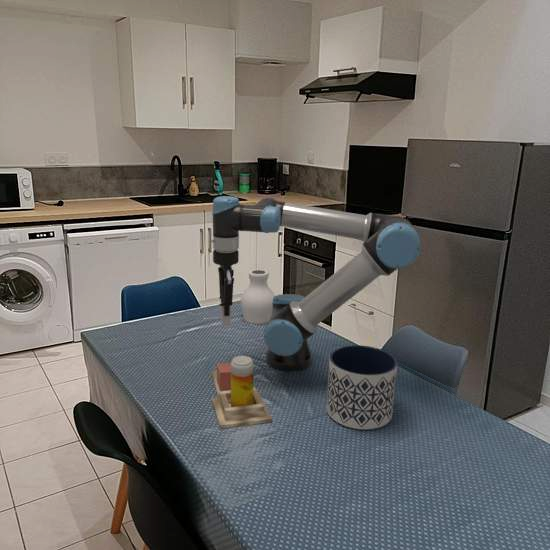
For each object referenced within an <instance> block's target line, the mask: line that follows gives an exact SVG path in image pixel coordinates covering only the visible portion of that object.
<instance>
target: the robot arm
mask: <svg viewBox="0 0 550 550" xmlns="http://www.w3.org/2000/svg"><path fill="white" fill-rule="evenodd" d="M212 202H213V203H212V239H210V242H211V243H212V247H213V251H212V263H214V264H216V265H217V266H218V265H219V267H218V268H217V271H218V272H217V273H218V280H219V281H218V282H219V283H218V284H219V300H220V303H219V306H220V317H221V319H220V324H221V326H231V325H232V321H231V320H232V317H231V316H232V315H231V314H232V309H231V307H232V306H233V296H234V295H233V294H234V283H235V278H234V277H233V276H234V269H233V267H232V266H233V265H236V264H238V263H239V259H240V258H239V256H240V255H239V249H240V248H239V245H240V235H239V234H240V232H251V233H252V232H254V233H265V234H269V233H274V234H275V233H278V232H279V231H280V228H281V227H284V228H290V229H294V230H295V229H296V230H300V231H301V230H303V231H307V232H312V233H313V232H314V233H318V234H319V233H320V234H326V235H331V236H336V237H343V238H349V239H354V240H359V241H362V242H363V243H362V247H361V250H360V252H359V253H358V254H357V255H356V256H354V257H353V258H352V259H351V260H349V261H348V262H347V263H346V264H345V265H343V266H342V267H341V268H340V269H338V270H337V271H336V272H335V273H333V274H332V275H331V276H330V277H329V278H327V279H325V280H324V281H323V282H322V283H321V284H320V285H318V286H317V287H316V288H315V289H314V290H312V291H310V292H309V294H308V295H306V296H303V295H300V294H291V293H284V294H283V293H282V294H277V295H275V297H274V298H273V303H272V304H273V310H272V314H271V317H270V319H269V321H268V323H267V324H265V326H264V327H265V328H264V329H263V330H264V331H263V339H264V340H263V341H264V343H265V345H266V347H267V352H266V356H265V357H266V358H265V362H266V363H267V365H268V366H269V367H271V368H273V369H275V370H278V371H284V372H295V371H296V372H298V371H302V370H304V369H307V368H309V367H310V365H311V364H312V353H311V349H310V347H309V343H308V339H309V338H311V337H312V336H313V335H315V334H316V333H317V330H318V325H319V324H320V323H321V322H322V321H324V320H325V319H327V318H328V317H329V316H331V314H333V313H335V311H337V310H338V309H339V308H341V307H342V306H343V305H344V304H346V303H347V302H349V300H351V299H352V298H353V297H354V296H356V295H358V294H359V293H360V292H361V291H362V290H364V289H365V288H366V287H367V286H369V285H370V284H371V283H372V282H374V281H375V280H377V279H378V278H379V277H381V276H386V277H389V276H391V274H393V273H394V272H395V271H397V270H399V269H404V268H407V267H409V266H411V264H413V263H414V262H415V261H416V260H417V258H418V256H419V255H420V250H421V239H420V236H419V233H418V232H417V230H416V229H415V227H414V225H413V224H412V223H411V222H410V221H409V220H408V219H406V218H405V217H404V216H399V215H391V214H384V213H374V212H369V213H367V214H366V215H365V214H361V213H360V214H359V213H355V212H354V213H353V212H346V211H342V210H336V209H331V208H330V209H329V208H322V207H316V206H310V205H306V204H298V203H293V202H286V201H282V200H281V201H280V200H277V199H275V198H273V197H266V198H265V197H264V198H262V199H260V200H259V201H258V202H257V203H256V204H255V205H252V204H250V205H249V204H240V203H241V202H240V199H239V198H238V197H236V196H231V195H230V196H229V195H227V196H226V195H222V196H217V197H215V198H214V199H213V201H212Z"/></svg>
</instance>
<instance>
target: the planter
mask: <svg viewBox="0 0 550 550" xmlns="http://www.w3.org/2000/svg"><path fill="white" fill-rule="evenodd" d="M397 370H398V361H397V359H396V357H395V356H394V355H392V354H391V353H389V352H388V351H386V350H384V349H380V348H378V347H375V346H370V345H361V344H360V345H358V344H356V345H355V344H354V345H345V346H341V347H338V348H335V350H333V351H332V352H331V353H330V354H329V360H328V373H327V374H328V375H327V376H328V377H327V390H326V391H327V393H326V396H327V397H326V411H327V414H328V415H329V417H330V418H331V419H332V420H334V421H335V422H336V423H338V424H340V425H342V426H345V427H347V428H350V429H355V430H375V429H379V428H383V427H384V426H386V425H388V424H389V422H391V420H392V418H393V413H394V404H395V403H394V402H395V401H394V400H395V391H396V382H397V381H396V380H397V372H398V371H397Z"/></svg>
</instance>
